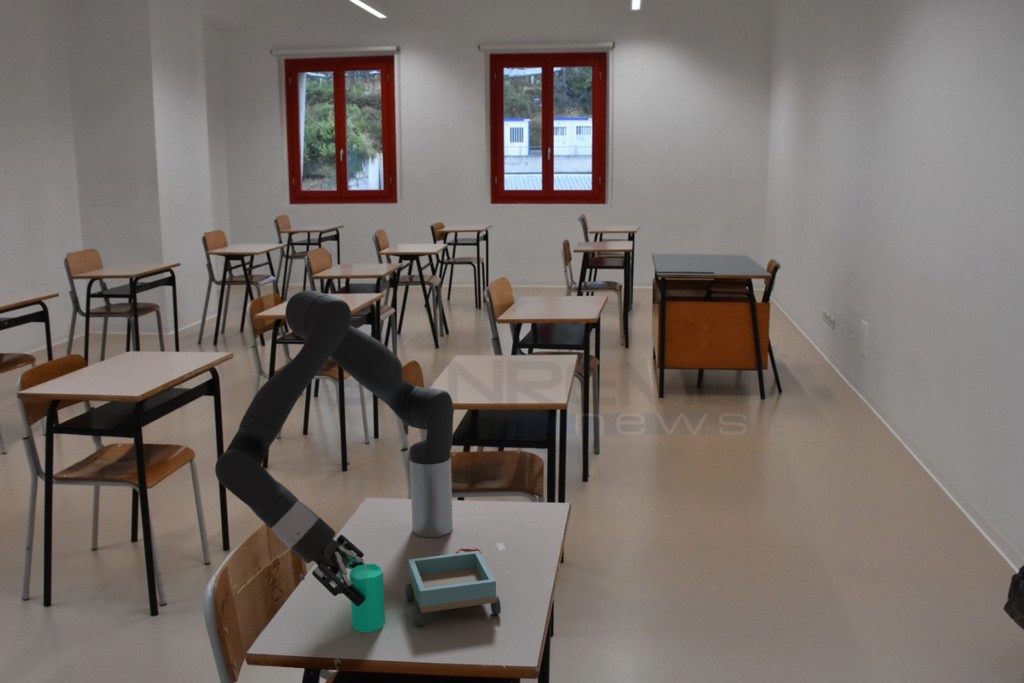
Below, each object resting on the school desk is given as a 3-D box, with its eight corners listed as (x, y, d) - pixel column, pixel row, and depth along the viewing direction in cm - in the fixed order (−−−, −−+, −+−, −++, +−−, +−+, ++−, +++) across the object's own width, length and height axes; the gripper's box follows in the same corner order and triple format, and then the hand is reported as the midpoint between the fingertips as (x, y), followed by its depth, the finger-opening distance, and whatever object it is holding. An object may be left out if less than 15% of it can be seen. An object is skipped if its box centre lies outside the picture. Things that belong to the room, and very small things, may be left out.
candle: (363, 614, 177) (360, 554, 175) (391, 619, 175) (388, 559, 173) (345, 628, 172) (342, 567, 169) (374, 634, 169) (371, 572, 167)
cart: (405, 595, 184) (403, 560, 182) (484, 585, 188) (483, 550, 186) (416, 629, 171) (415, 591, 169) (501, 617, 174) (500, 580, 173)
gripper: (304, 533, 163) (372, 596, 164) (328, 503, 177) (390, 561, 178) (276, 561, 165) (344, 623, 166) (302, 529, 179) (364, 587, 180)
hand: (368, 591), depth 172 cm, fingers open, 8 cm apart
